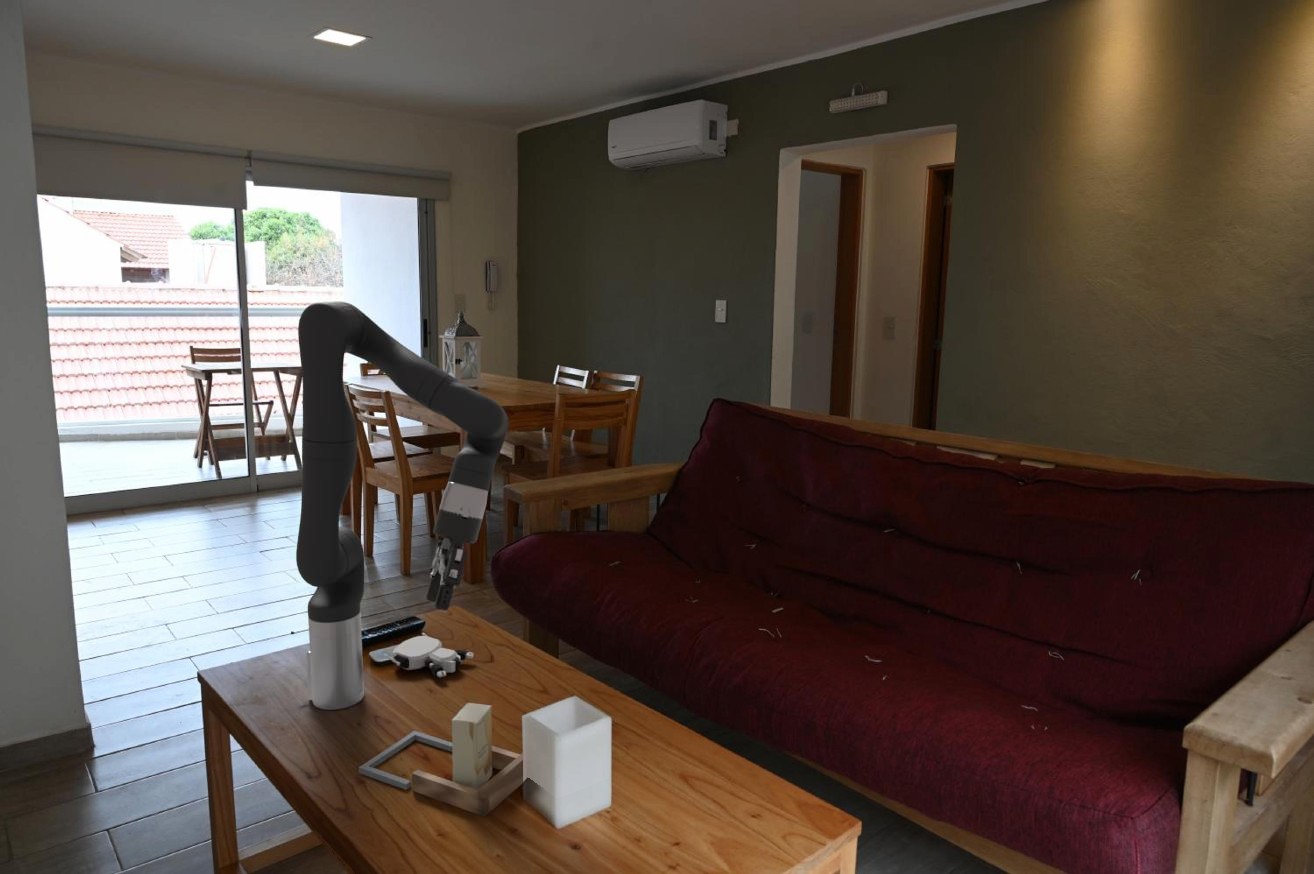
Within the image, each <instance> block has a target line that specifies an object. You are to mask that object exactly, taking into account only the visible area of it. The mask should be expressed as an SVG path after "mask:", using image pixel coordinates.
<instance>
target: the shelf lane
mask: <svg viewBox="0 0 1314 874" xmlns="http://www.w3.org/2000/svg"><path fill="white" fill-rule="evenodd" d="M492 769H496V770H499V772H498V773H497V774H495V775H494V776H492V778H491V779H489V780H488V781H487V783H486V784H485V785H483V786H482V787H481V788H480V789H479V790H475V789H472V788H469V787H466V786H464V785H461V784H458V783H455V782H453V780H452V781H451V780H449V779H446V778H443V777H439V776H438V775H434V774H432V773H428V772H425V771H423V770H419V769H416V770H415V771H414V772H412V773H411V775H412V776H411V779H412V780H411V782H412V783H411V788H412V791H413V792H415V793H417V794H420V795H424V796H426V797H428V798H432V799H434V800H436V801H440V802H443V803H445V804H448V805H451V806H454V807H457V808H460V809H462V810H465V811H467V812H470V813H473V814H476V815H478V816H481V817H486V816H487V815H488V814H490V813H491V811H493V810H494V809H495V808H497V806H498V805H500V803H502V802H503V801H504V800H505V799H506V798H507V797H509V796H510V795H511V794H513V792H514V791H515V790H517V789H518V788H519V787H520V786H521V785H522V784H524V782H523V752H522V753H520V754H519V753H517V752H513V751H510V750H507V749H504V748H502V747H501V748H500V747H497V746H495V745H492Z"/></svg>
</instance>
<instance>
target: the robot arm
mask: <svg viewBox="0 0 1314 874" xmlns="http://www.w3.org/2000/svg"><path fill="white" fill-rule="evenodd" d="M297 336H298V347H299V357H300V366H301V377H302V378H301V379H302V429H301V431H302V432H301V463H302V464H301V471H302V472H301V473H302V475H301V503H300V504H301V508H300V519H299V527H298V533H297V534H298V535H297V542H296V552H295V557H296V558H295V559H296V561H295V562H296V567H297V571H298V573H299V575H300V576H301V578H302V579H303V581H304V582H305V583H306V584H308V585H309V586H312V587H315V588H316V589H315V591H314V593H313V595H312V596H311V597H310V599H309V601H308V602H307V618H308V636H309V637H308V638H309V639H308V640H309V651H307V653H306V669H307V671H306V672H307V686H308V687H307V689H308V700H310V701H312V705H314V707H316V708H318V709H321V710H327V711H329V710H330V711H332V710H341V709H346V708H348V707H351V706H354V705H356V704H358V703H359V702H361V701H362V700H363V699H364V696H365V689H364V688H365V685H364V664H363V663H364V662H363V661H364V659H363V641H362V639H363V637H362V617H361V602H362V600H363V597H364V592H365V553H364V546H363V543H362V541H361V539H360V538H359V536H358V535H357V533H356V532H355V531H353V530H352V529H350V528H348V527H345V526H340V516H341V515H340V514H341V509H342V507H343V506H342V505H343V503H344V500H345V497H346V495H347V493H348V489H349V487H350V485H351V483H352V480H353V476H354V472H355V469H356V466H357V458H358V457H357V456H358V455H357V454H358V453H357V452H358V431H357V428H358V427H357V423H356V418H355V417H354V414H353V411H352V408H351V406H350V403H349V400H348V398H347V395H346V390H345V386H344V364H345V363H344V362H345V361H344V360H345V359H344V358H345V354H350V355H352V356H354V357H357V358H360V359H362V360H364V361H366V362H368V363H369V364H371V365H373V366H375V368H377V369H378V370H380V371H381V372H383V373H384V374H385V376H387V378H389V379H390V380H391V382H393V384H394V385H395V386H396V387H397V388H398V389H399V390H400V391H402V393H404V394H405V395H406V396H407V397H410V399H413V400H414V401H416V402H417V403H419V404H420V405H422V406H423V407H425V408H427V409H428V410H430V411H432V412H433V413H436V414H438V415H439V416H442V417H445V418H446V419H447V420H449V421H450V422H452V423H453V424H454V425H456V426H457V427H459V428H460V429H462V430H464V431H465V432H466V435H465V438H464V441H463V445H462V448H461V450H460V451H459V452H458V453H457V455H456V456H455V458H454V461H453V463H452V467H451V470H450V474H449V478H448V482H447V484H446V487H445V489H444V492H443V494H442V498H441V501H440V504H439V508H438V513H437V515H436V520H435V523H434V526H433V531H432V533H433V534H434V535H435V536H438V537H442V538H443V540H439V539H438V541H437V542H436V547H435V551H434V555H433V558H432V561H431V565H430V567H429V573H430V574H429V575H430V576H429V577H430V582H429V585H428V589H427V592H426V595H425V598H426V600H427V601H431V602H435V603H434V608H435V609H437V610H441V611H448V610H449V608H450V604H451V600H452V596H453V593H454V590H455V589H456V587H459V586H460V584H461V580H462V579H461V578H462V574H463V571H464V567H465V563H466V559H467V555H468V550H467V549H463V548H464V544H465V543H469V544H475V543H477V540H478V536H479V534H480V530H481V526H482V522H483V519H484V518H483V517H484V514H485V510H486V507H487V502H488V495H489V494H488V493H489V490H490V487H491V483H492V479H493V475H494V470H495V465H496V463H497V460H498V458H499V456H500V453H501V450H502V448H503V446H504V443H505V439H506V437H507V433H508V429H509V417H508V414H507V412H506V411H505V410H504V408H503V407H501V405H500V404H499V403H498V402H497V401H495V400H494V399H492V398H489V397H488V396H487V395H485V394H484V393H481V392H479V391H478V390H475V389H473V388H471V387H469V386H467V385H465V384H463V383H462V382H461V381H460V380H459V379H457V378H455V377H454V376H452V375H451V374H449V373H447V371H445V370H443V369H441V368H440V367H438V366H436V365H435V364H433V363H432V362H430V361H428V360H427V359H425V358H423V357H421V356H420V355H418V354H416V353H415V351H412V350H410V349H409V348H408V347H406V346H404V345H403V344H402V343H400V341H398V340H397V339H396V338H394V337H393V336H391V335H390V334H388V333H387V332H386V331H385V330H384V329H383V328H381V327H380V326H379V325H378V324H377V323H376V322H375V321H374V320H372V319H371V318H370V317H369V316H368V315H367V314H366V313H364V312H363V311H362V310H360V309H359V307H356V306H355V305H353V304H351V303H349V302H346V301H319V302H318V301H317V302H315V303H312V304H310V305H308V306H307V307H305V309H304V310H303V312H302V313H301V315H300V317H299V320H298V327H297Z"/></svg>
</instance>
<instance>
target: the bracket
mask: <svg viewBox="0 0 1314 874" xmlns="http://www.w3.org/2000/svg"><path fill="white" fill-rule="evenodd" d="M414 741H417V742H420V743H424V744H425V745H426V744H427V745H429V746H433V747H436V748H438V749H442V750H444V751H447V752H451V753H452V741H447V740H444V739H442V738H438V737H435V736H432V735H429V734H426V733H422V732H420V731H417V730H413V731H412V732H410V733H408V734H407V735H406V736H404V737H402V739H400V740H398V741H397V742H395V743H394V744H392V745H391V746H389V747H388V748H386V749H385V750H383V751H382V752H381V753H379V754H377V755H375V756H373V758H371V759H369V760H368V761H366V762H365V763H364V764H362V765H360V766H359V767H358V773H359V774H360V775H364V776H366V777H370V778H371V779H375V780H378V781H380V782H383V783H386V784H389V785H391V786H394V787H397V788H399V789H403V790H405V791H407V790H409V789H410V788H412V783H411V782H412V780H409V779H407V778H403V777H401V776H397V775H394V774H392V773H388V772H387V771H383V770H380V769H378V768H376V767H377V766H379V765H380V764H382V763H383V762H384V761H386V760H387V759H389V758H391V757H392V756H394V755H395V754H396V753H398V752H399V751H401V750H403V749H404V748H406V747H407V746H408V745H410V744H411V743H413V742H414Z"/></svg>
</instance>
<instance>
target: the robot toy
mask: <svg viewBox="0 0 1314 874" xmlns="http://www.w3.org/2000/svg"><path fill="white" fill-rule="evenodd" d="M442 644H443V643H442V641H440V639H437V638H434V637H430V636H428V634H426V633H425V632H422V633H421V635H417V636H414V637H412V638H409V639H406V640H404V641H402V642H401V643H400V644H399V645H397V646H396V647H395V648H394V649H393V650H392V657H391V656H389V655H388V654H386V653H384V654H383V656H384V657H385V658H387V659H388V660H391V661H392V662H393V664H394V665H395V666H398V667H400V668H402V669H404V670H406V671H410V670H411V671H412V670H418V669H422V668H424V667H426V668H428V669H430V671H431V674H432V675H433V676H434V677H435V678H436V677H438V678H443V677H446V676H447V673H455V672H456V670H457V671H458V670H460V669H461V667H462V663H461V661H466V659H467V660H470V659H473V658H474V656H475V655H474V652H471V651H468V652H467V650H466V649H457V650H453V649H449V648H446V647H443V645H442Z"/></svg>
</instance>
